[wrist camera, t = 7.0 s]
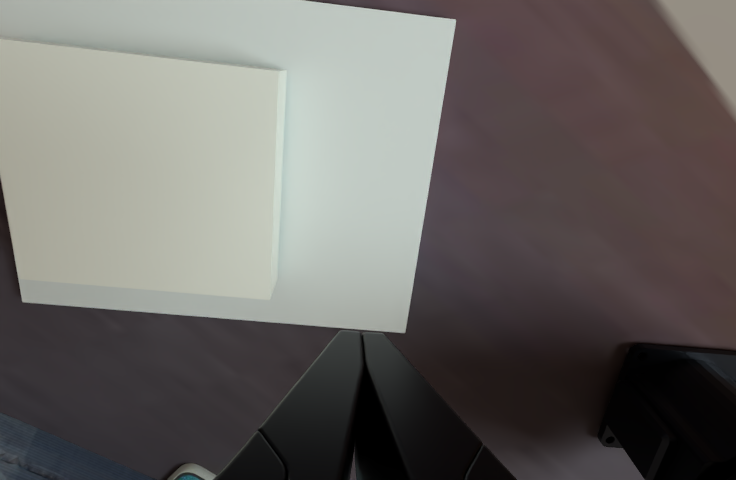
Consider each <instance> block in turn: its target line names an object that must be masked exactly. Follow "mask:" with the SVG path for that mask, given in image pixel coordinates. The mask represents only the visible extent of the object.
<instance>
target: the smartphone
mask: <svg viewBox="0 0 736 480" xmlns="http://www.w3.org/2000/svg"><path fill="white" fill-rule="evenodd" d="M215 477H216V475H215V474H213V473H211V472H210V471H208V470H206V469H205V468H203V467H201V466H199V465H197V464H194V463H187V464H184V465H182V466H180V467H179V468H178V469H177V470H176V471H175V472H174V473H173V474H172V475H171V476H170V477H169V478H168V479H167V480H213V479H214V478H215Z"/></svg>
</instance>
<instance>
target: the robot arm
mask: <svg viewBox="0 0 736 480" xmlns="http://www.w3.org/2000/svg"><path fill="white" fill-rule="evenodd" d="M640 353H642V354H641V355H639V354H640ZM638 355H639V356H638ZM598 439H599V440H600V442H601V443H602V445H603V446H606V447H615V448H623V449H624V450H625V451H626V453H627V454H628V456H629V457H630V459H631V460H632V462H633V463H634V465H635V466H636V467H637V469H638V470H639V472H640V473H641V475H642V476H643V478H644V479H645V480H736V352H735V351H723V350H711V349H698V348H686V347H674V346H662V345H650V344H636V345H634V346H633V347H631V348H630V350H629V352H628V354H627V357H626V360H625V362H624V365H623V368H622V371H621V373H620V376H619V379H618V381H617V384H616V386H615V389H614V392H613V395H612V397H611V400H610V403H609V405H608V408H607V411H606V413H605V416H604V419H603V422H602V425H601V427H600V430H599V433H598ZM354 446H355V467H356V478H357V480H517V479H516V478H515V477H514V476H513V475H512V474H511V473H510V472H509V471H508V469H507V468H506V467H505V466H504V465H503V464H502V463H501V462H500V461H499V460H498V459H497V458H496V457H495V456H494V454H493V453H492V452H491V451H490V450H489V449H488V448H487V447H486V446H483V443H482V441H481V440H480V439H479V438H478V437H477V436H476V435H475V434H474V433H473V432H472V430H471V429H470V428H469V427H468V426H467V425H466V424H465V423H464V422H463V421H462V419H461V418H460V417H459V416H458V415H457V414H456V413H455V412H454V411H453V409H452V408H451V407H450V406H449V405H448V404H447V403H446V402H445V401H444V400H443V398H442V397H441V396H440V395H439V394H438V393H437V392H436V391H435V390H434V388H433V387H432V386H431V385H430V384H429V383H428V382H427V381H426V380H425V379H424V377H423V376H422V375H421V374H420V373H419V372H418V371H417V370H416V369H415V367H414V366H413V365H412V364H411V363H410V362H409V361H408V360H407V359H406V358H405V356H404V355H403V354H402V353H401V352H400V351H399V350H398V349H397V348H396V347H395V345H394V344H393V343H392V342H391V341H390V340H389V339H388V338H387V337H386V335H384V334H383V333H373V332H364V333H363V334H361V333H360V332H358V331H347V330H341V331H339V332H338V333H337V334H336V336H335V337H334V338H333V339H332V340H331V342H330V343H329V344H328V345H327V346H326V348H325V349H324V350H323V351H322V353H321V354H320V355H319V356H318V357H317V359H316V360H315V361H314V362H313V363H312V365H311V366H310V367H309V368H308V369H307V371H306V372H305V373H304V374H303V375H302V377H301V378H300V379H299V380H298V381H297V383H296V384H295V385H294V386H293V387H292V389H291V390H290V391H289V392H288V393H287V395H286V396H285V397H284V398H283V399H282V401H281V402H280V403H279V404H278V405H277V407H276V408H275V409H274V410H273V412H272V413H271V414H270V415H269V416H268V418H267V419H266V420H265V421H264V422H263V424H262V425H261V426H260V427H259V428H258V431H257V432H255V433H254V434H253V435H252V436H251V438H250V439H249V440H248V441H247V443H246V444H245V445H244V446H243V447H242V449H241V450H240V451H239V452H238V453H237V454H236V455H235V456H234V457H233V459H232V460H231V461H230V462H229V463H228V464H227V465H226V466H225V468H224V469H223V470H222V471H221V472H220V473H219V474H218V475H217V476H216V477H215V478H214V479H213V480H350V474H351V468H352V461H353V453H354Z"/></svg>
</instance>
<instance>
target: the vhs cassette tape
mask: <svg viewBox="0 0 736 480" xmlns="http://www.w3.org/2000/svg"><path fill="white" fill-rule="evenodd" d="M0 480H156V479H153V478H151V477H149V476H146V475H144V474H142V473H139V472H137V471H134V470H132V469H130V468H128V467H126V466H124V465H121V464H119V463H116V462H114V461H111V460H109V459H107V458H105V457H102V456H100V455H98V454H95V453H93V452H91V451H89V450H86V449H84V448H82V447H79V446H77V445H75V444H73V443H70V442H68V441H66V440H63V439H61V438H59V437H56V436H54V435H52V434H49V433H47V432H45V431H43V430H40V429H38V428H36V427H33V426H31V425H29V424H26V423H24V422H22V421H20V420H17V419H15V418H13V417H10V416H8V415H6V414H3V413H1V412H0Z"/></svg>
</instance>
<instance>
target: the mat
mask: <svg viewBox="0 0 736 480" xmlns="http://www.w3.org/2000/svg"><path fill="white" fill-rule="evenodd" d="M455 24H456V20H454V19H446V18H438V17H431V16H423V15H415V14H407V13H399V12H391V11H383V10H375V9H367V8H359V7H351V6H343V5H335V4H328V3H320V2H312V1H304V0H0V38H15V39H25V40H33V41H42V42H50V43H59V44H68V45H76V46H85V47H93V48H102V49H111V50H119V51H128V52H136V53H145V54H154V55H162V56H171V57H179V58H188V59H197V60H205V61H214V62H222V63H231V64H240V65H248V66H257V67H265V68H274V69H283V70H287V73H286V96H285V118H284V140H283V162H282V185H281V207H280V229H279V252H278V274H277V281H276V284H275V287H274V290H273V292H272V295H271V298H270V300H263V299H251V298H239V297H227V296H215V295H203V294H191V293H179V292H167V291H156V290H144V289H132V288H120V287H108V286H96V285H84V284H72V283H60V282H48V281H36V280H25V279H19V275H18V280H19V286H20V291H21V297H22V302H27V303H39V304H51V305H64V306H76V307H88V308H101V309H113V310H126V311H138V312H150V313H163V314H175V315H187V316H200V317H212V318H224V319H237V320H249V321H261V322H274V323H286V324H298V325H311V326H323V327H336V328H348V329H360V330H373V331H385V332H397V333H405V331H406V325H407V319H408V313H409V307H410V301H411V295H412V288H413V282H414V276H415V270H416V264H417V258H418V251H419V245H420V239H421V233H422V227H423V221H424V215H425V208H426V202H427V196H428V190H429V184H430V178H431V172H432V165H433V159H434V153H435V147H436V141H437V135H438V129H439V122H440V116H441V110H442V104H443V98H444V92H445V86H446V79H447V73H448V67H449V61H450V55H451V49H452V42H453V36H454V30H455ZM0 179H1V174H0ZM1 185H2V179H1ZM2 190H3V185H2ZM3 196H4V191H3ZM4 201H5V196H4ZM5 207H6V202H5ZM6 213H7V208H6ZM7 218H8V213H7ZM8 224H9V219H8ZM9 229H10V225H9ZM10 235H11V230H10ZM11 241H12V236H11ZM12 246H13V241H12ZM13 252H14V247H13ZM14 258H15V253H14ZM15 263H16V258H15ZM16 269H17V264H16ZM17 274H18V270H17Z"/></svg>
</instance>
